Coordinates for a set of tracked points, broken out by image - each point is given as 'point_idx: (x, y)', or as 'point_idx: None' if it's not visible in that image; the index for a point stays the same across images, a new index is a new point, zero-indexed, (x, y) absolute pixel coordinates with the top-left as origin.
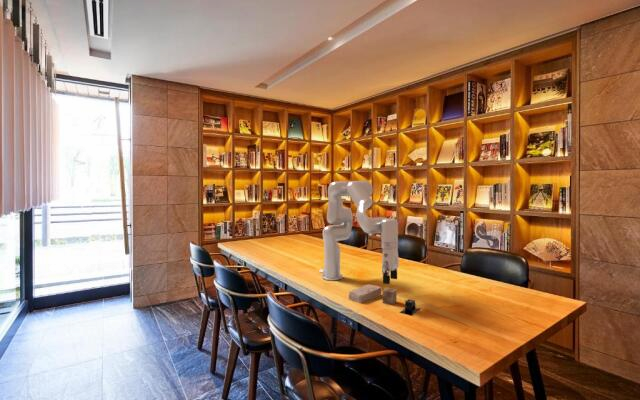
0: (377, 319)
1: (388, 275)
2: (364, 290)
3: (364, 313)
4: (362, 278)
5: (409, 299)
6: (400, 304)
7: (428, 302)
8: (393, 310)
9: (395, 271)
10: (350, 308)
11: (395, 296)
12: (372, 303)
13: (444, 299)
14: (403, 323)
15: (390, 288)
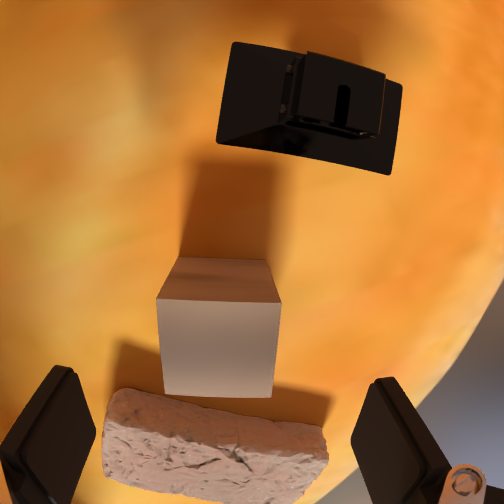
0: (497, 263)
1: (453, 473)
2: (227, 475)
3: (450, 347)
4: None
5: (306, 104)
6: (223, 208)
7: (83, 41)
8: (370, 221)
9: (33, 467)
10: None
11: (195, 274)
12: (298, 381)
13: (10, 3)
14: (499, 128)
15: (161, 358)
